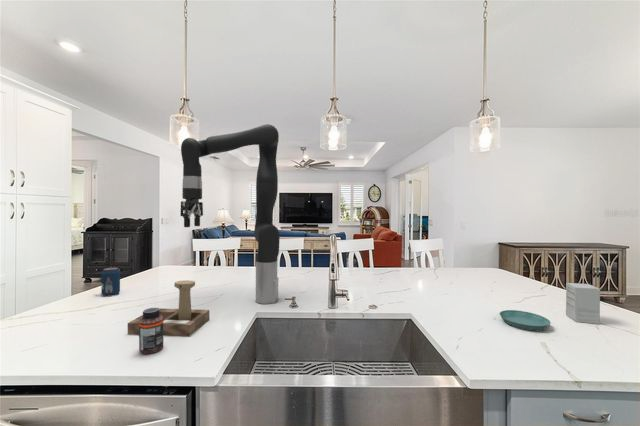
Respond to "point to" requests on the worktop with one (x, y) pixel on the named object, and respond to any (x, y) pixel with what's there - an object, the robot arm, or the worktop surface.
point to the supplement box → (583, 303)
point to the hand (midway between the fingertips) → (192, 226)
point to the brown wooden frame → (175, 322)
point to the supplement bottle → (150, 331)
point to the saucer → (524, 320)
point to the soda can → (110, 281)
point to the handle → (184, 299)
